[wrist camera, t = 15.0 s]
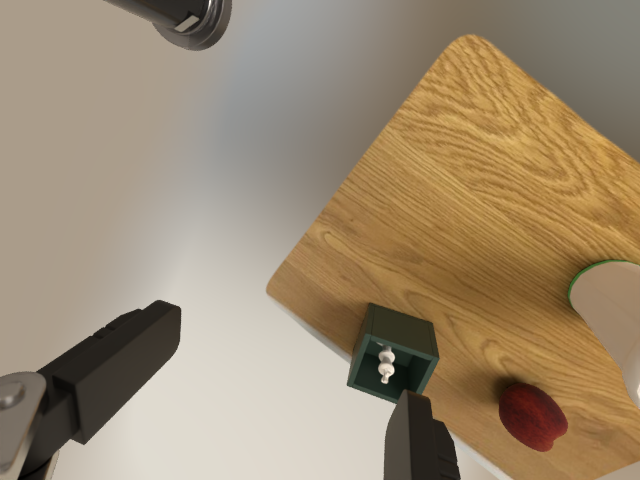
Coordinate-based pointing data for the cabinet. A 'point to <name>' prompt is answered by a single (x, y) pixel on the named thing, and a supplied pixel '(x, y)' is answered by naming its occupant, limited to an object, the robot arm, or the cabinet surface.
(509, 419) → the apple
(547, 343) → the cabinet surface
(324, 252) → the cabinet surface
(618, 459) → the cabinet surface
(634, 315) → the cup
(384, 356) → the chess piece
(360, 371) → the bin
